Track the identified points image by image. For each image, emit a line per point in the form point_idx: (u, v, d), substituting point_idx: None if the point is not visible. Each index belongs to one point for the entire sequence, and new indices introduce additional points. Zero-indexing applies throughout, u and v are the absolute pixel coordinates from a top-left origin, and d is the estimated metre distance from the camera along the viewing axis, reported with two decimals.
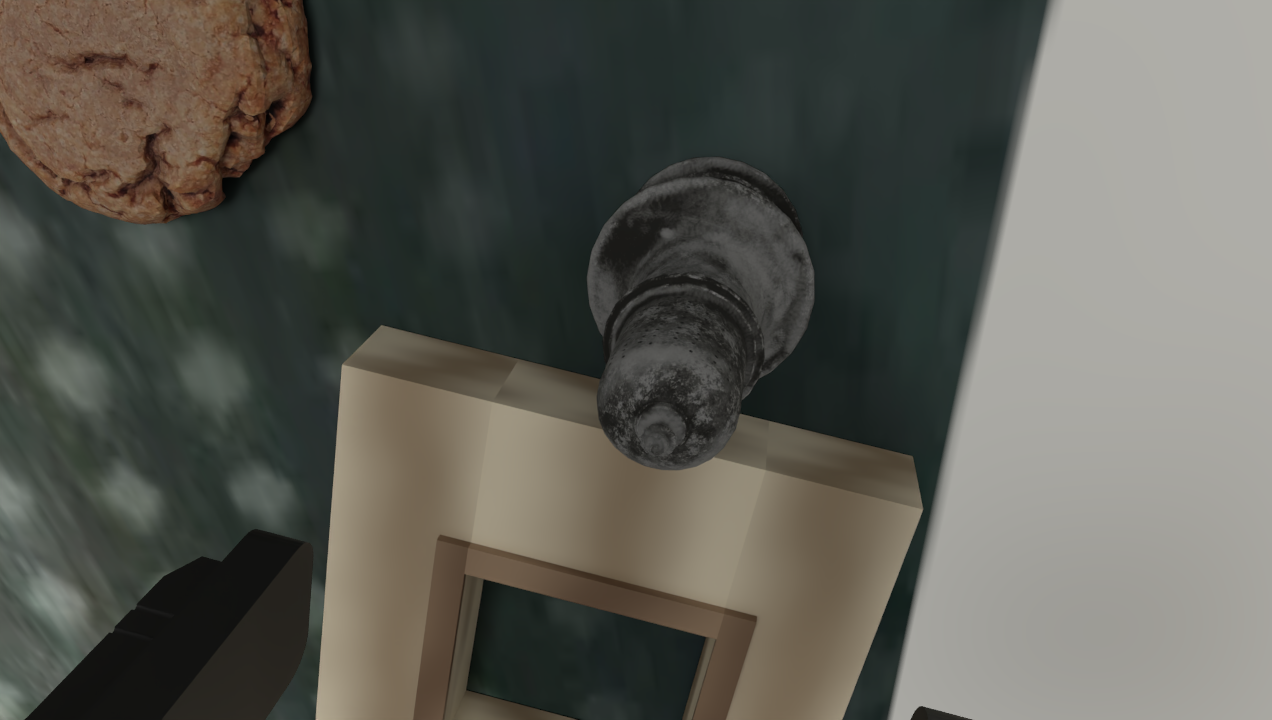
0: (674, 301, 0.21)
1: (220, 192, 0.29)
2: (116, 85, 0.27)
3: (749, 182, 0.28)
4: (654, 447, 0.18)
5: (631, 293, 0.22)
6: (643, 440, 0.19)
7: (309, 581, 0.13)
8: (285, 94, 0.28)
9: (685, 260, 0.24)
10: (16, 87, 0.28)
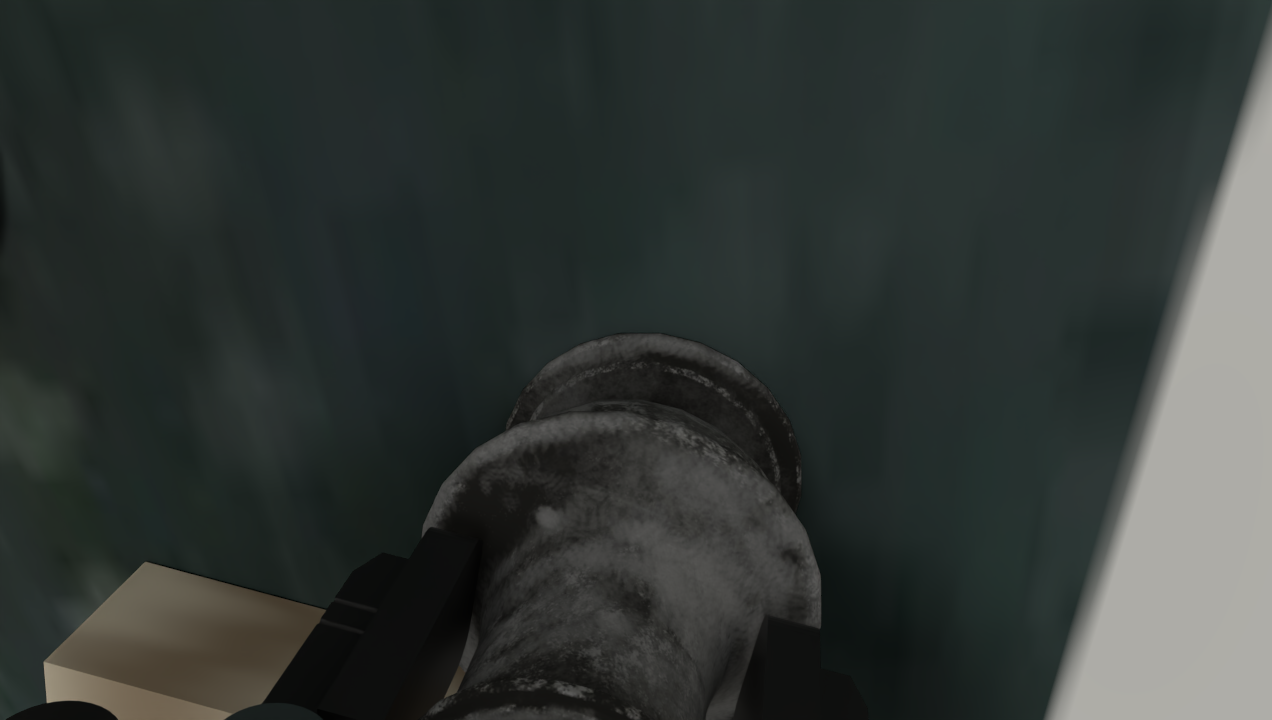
0: None
1: None
2: None
3: (710, 378, 0.16)
4: None
5: (442, 712, 0.11)
6: None
7: (477, 576, 0.14)
8: None
9: (570, 596, 0.12)
10: None
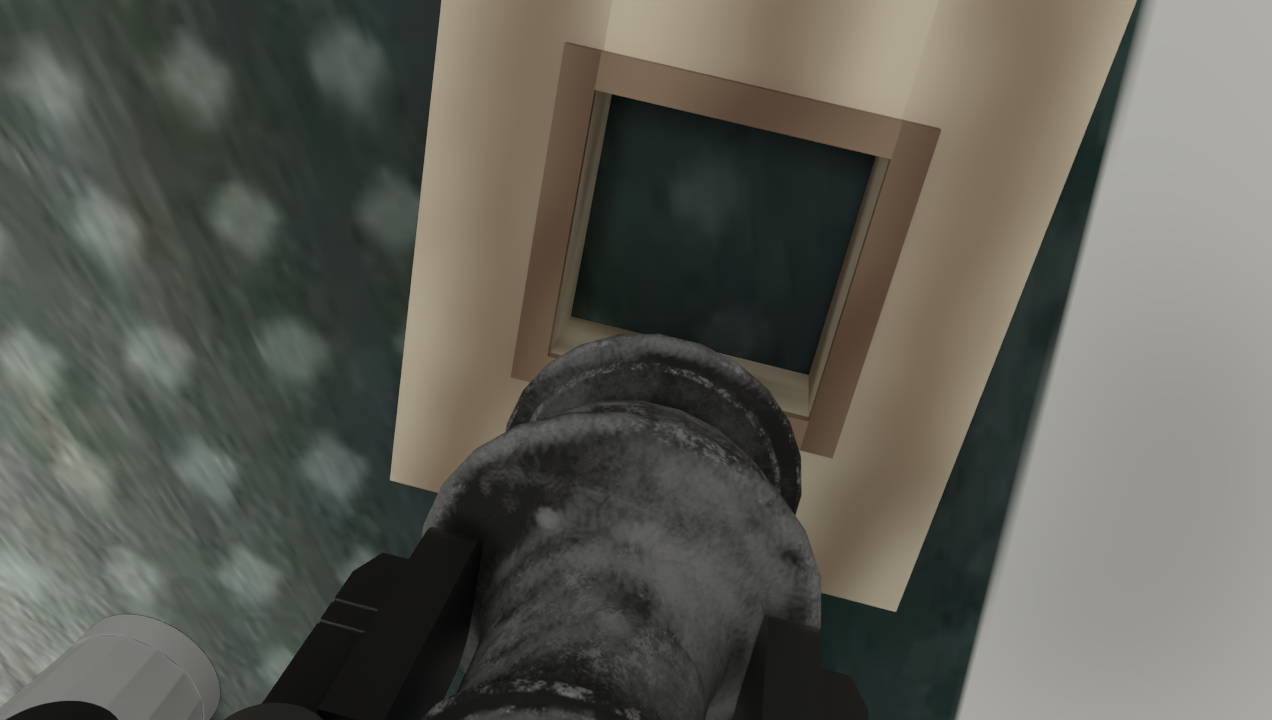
0: None
1: None
2: None
3: (709, 379, 0.16)
4: None
5: (442, 713, 0.11)
6: None
7: (477, 576, 0.14)
8: None
9: (570, 597, 0.12)
10: None
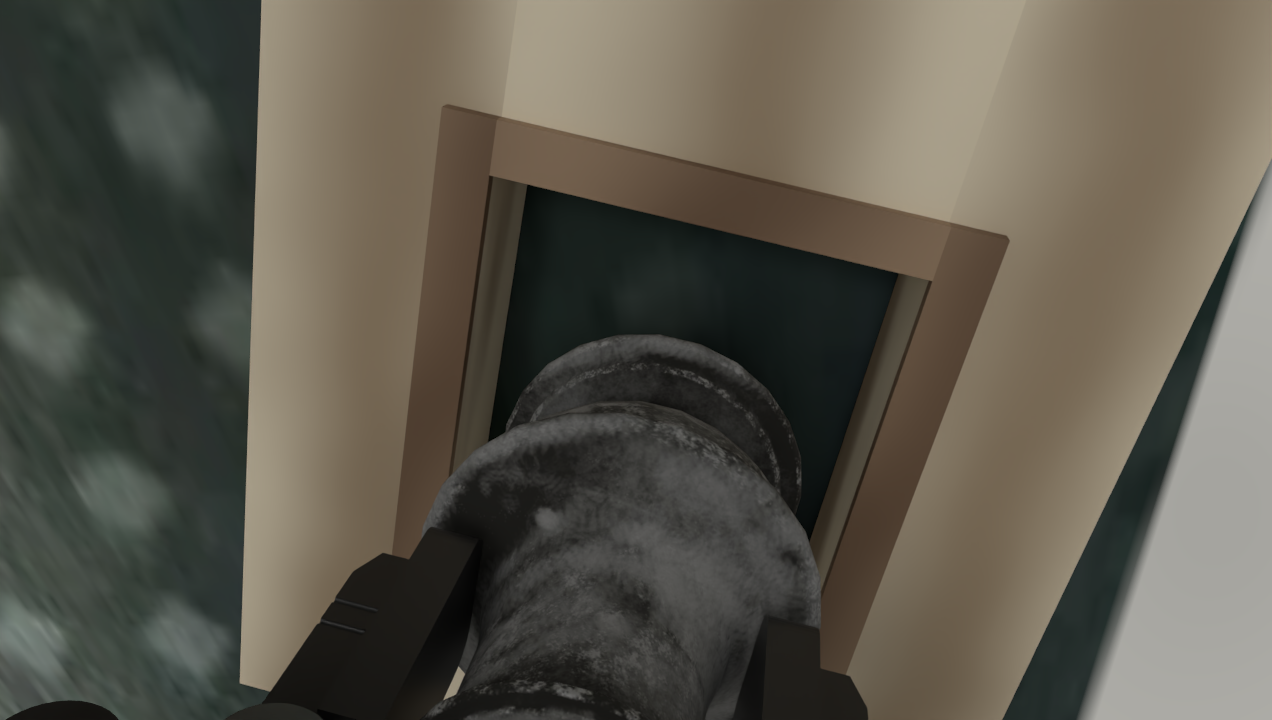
0: None
1: None
2: None
3: (709, 380, 0.16)
4: None
5: (441, 714, 0.11)
6: None
7: (477, 576, 0.14)
8: None
9: (570, 597, 0.12)
10: None
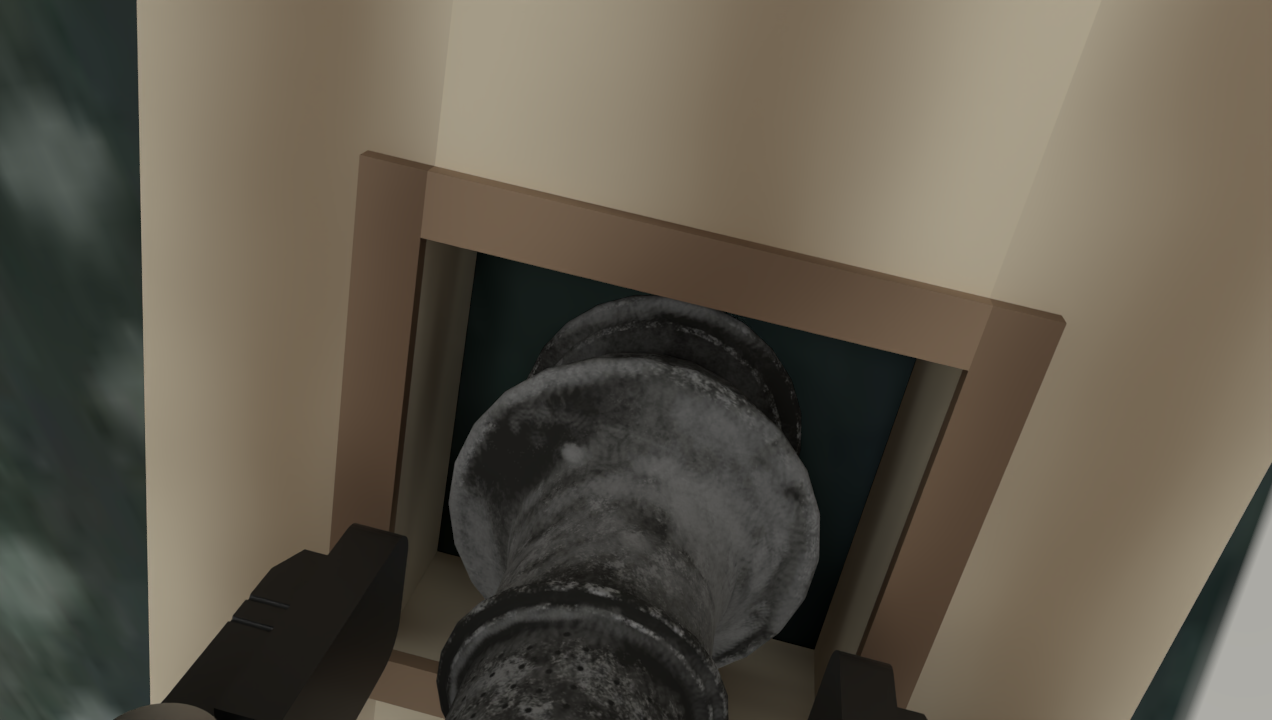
0: (555, 648, 0.11)
1: None
2: None
3: (718, 338, 0.18)
4: None
5: (483, 611, 0.12)
6: None
7: (404, 573, 0.14)
8: None
9: (595, 520, 0.13)
10: None
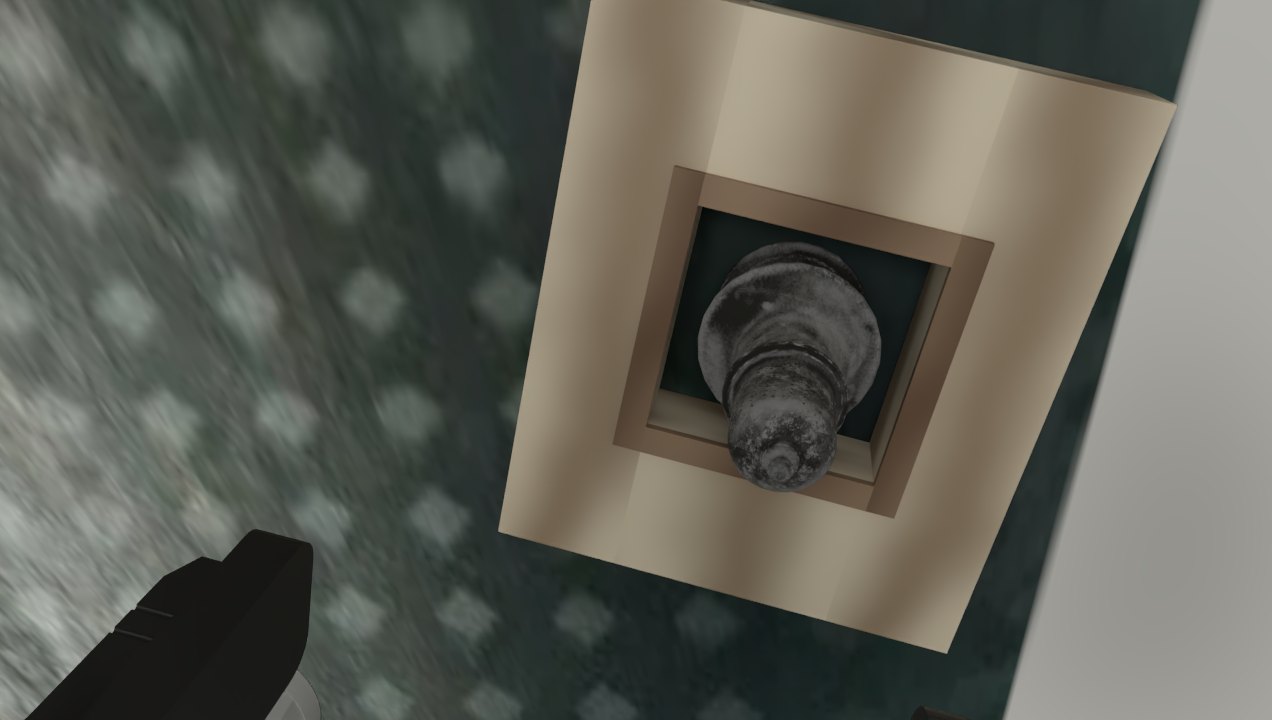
0: (783, 363, 0.28)
1: None
2: None
3: (825, 263, 0.34)
4: (779, 474, 0.25)
5: (748, 355, 0.29)
6: (769, 468, 0.25)
7: (309, 581, 0.13)
8: None
9: (784, 329, 0.30)
10: None
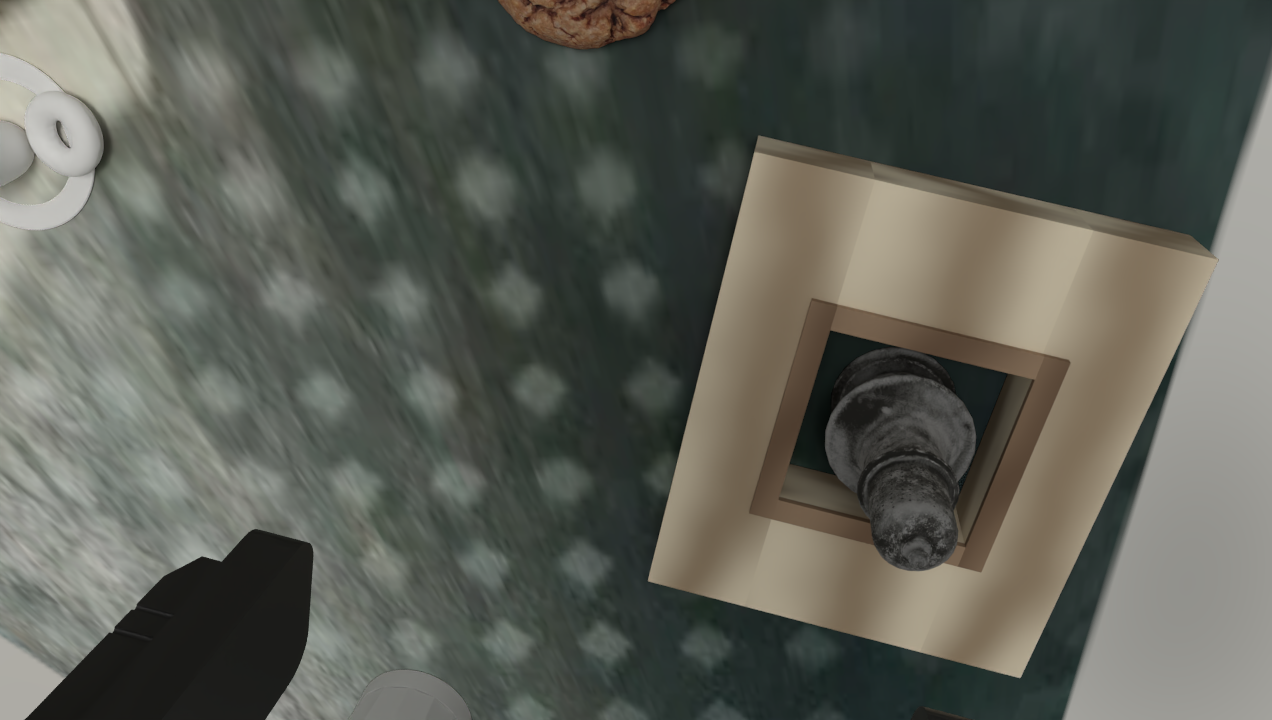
0: (910, 467, 0.36)
1: (654, 19, 0.37)
2: None
3: (924, 365, 0.42)
4: (919, 563, 0.33)
5: (880, 458, 0.36)
6: (910, 558, 0.33)
7: (309, 581, 0.13)
8: None
9: (903, 432, 0.38)
10: None
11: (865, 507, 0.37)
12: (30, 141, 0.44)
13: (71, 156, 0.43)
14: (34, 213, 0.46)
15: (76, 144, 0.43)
